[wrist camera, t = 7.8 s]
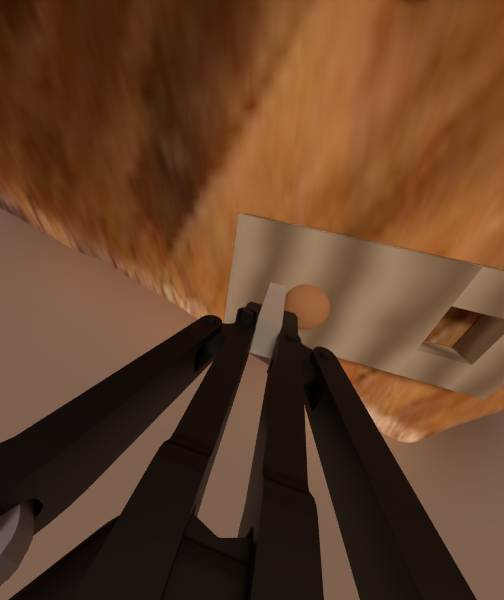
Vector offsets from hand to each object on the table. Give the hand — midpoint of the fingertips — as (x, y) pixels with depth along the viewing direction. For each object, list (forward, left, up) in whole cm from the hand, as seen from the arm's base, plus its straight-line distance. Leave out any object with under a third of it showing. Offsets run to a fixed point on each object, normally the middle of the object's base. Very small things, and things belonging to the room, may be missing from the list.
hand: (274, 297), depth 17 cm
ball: (+3, 0, +1) cm, 3 cm away
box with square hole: (+9, 0, -4) cm, 10 cm away
